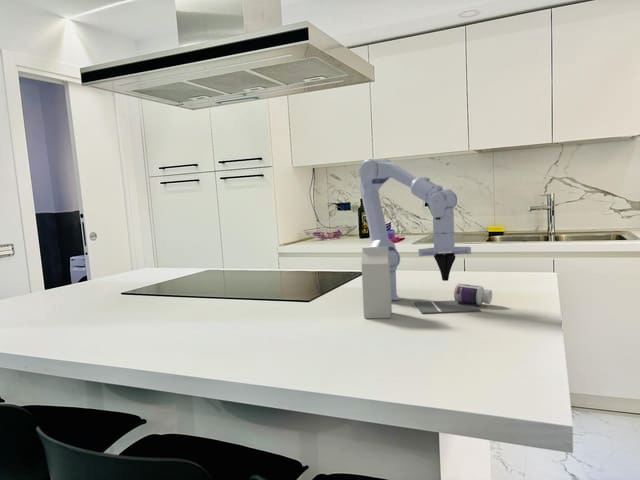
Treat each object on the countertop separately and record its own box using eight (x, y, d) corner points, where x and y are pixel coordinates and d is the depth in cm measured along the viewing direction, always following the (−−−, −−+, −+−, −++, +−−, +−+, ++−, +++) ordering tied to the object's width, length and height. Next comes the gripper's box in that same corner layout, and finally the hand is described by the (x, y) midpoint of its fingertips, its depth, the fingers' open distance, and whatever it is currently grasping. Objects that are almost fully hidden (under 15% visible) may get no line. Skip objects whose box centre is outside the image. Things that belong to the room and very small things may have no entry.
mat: (422, 313, 136) (422, 312, 136) (414, 303, 149) (414, 301, 149) (480, 311, 136) (480, 309, 136) (468, 301, 148) (468, 299, 148)
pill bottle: (454, 305, 145) (488, 310, 140) (452, 290, 143) (486, 295, 137) (460, 293, 149) (493, 298, 143) (458, 279, 146) (492, 283, 141)
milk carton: (390, 318, 133) (387, 248, 131) (363, 318, 134) (360, 249, 133) (391, 312, 140) (389, 245, 138) (366, 312, 141) (363, 246, 140)
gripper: (420, 235, 137) (421, 283, 138) (473, 232, 136) (474, 281, 137) (416, 233, 144) (417, 279, 145) (466, 230, 143) (468, 277, 144)
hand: (445, 280), depth 142 cm, fingers closed
